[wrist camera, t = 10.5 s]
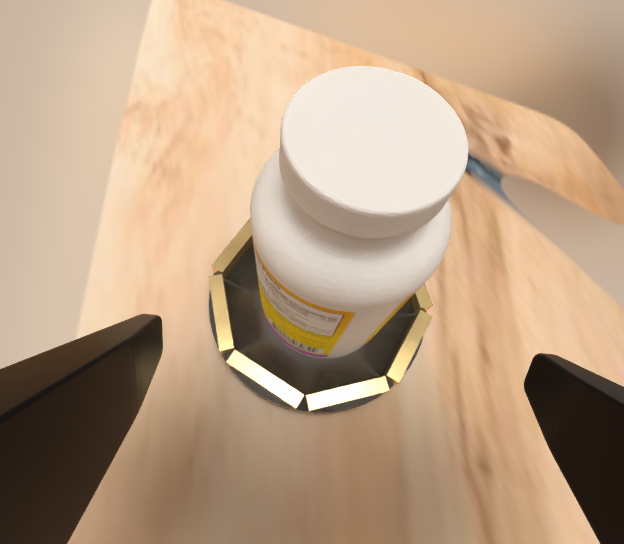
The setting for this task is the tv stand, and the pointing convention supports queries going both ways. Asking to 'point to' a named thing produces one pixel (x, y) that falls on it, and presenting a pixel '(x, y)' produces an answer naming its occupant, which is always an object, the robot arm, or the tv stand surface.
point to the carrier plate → (295, 366)
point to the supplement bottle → (353, 206)
